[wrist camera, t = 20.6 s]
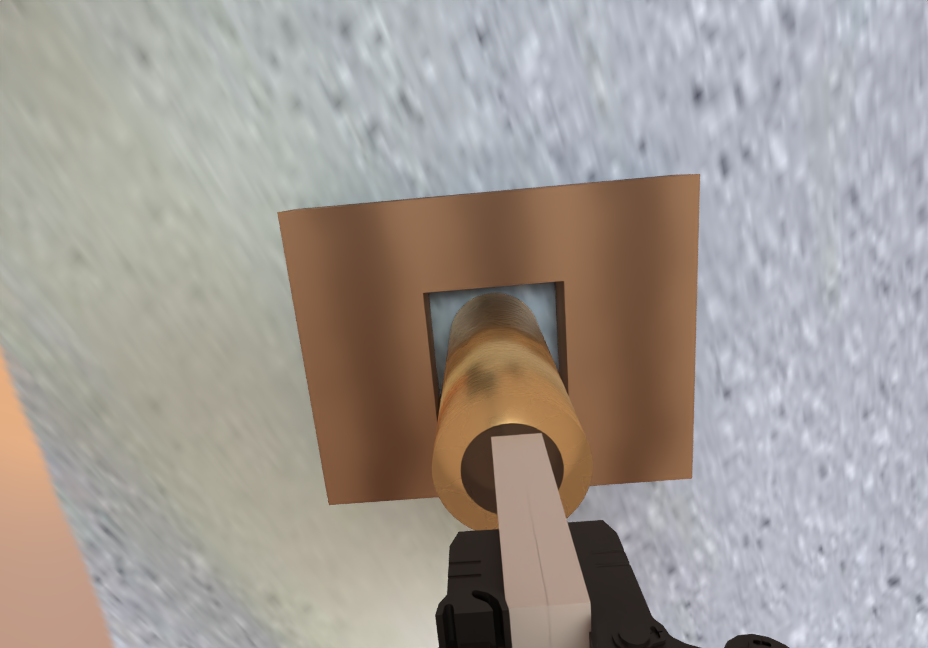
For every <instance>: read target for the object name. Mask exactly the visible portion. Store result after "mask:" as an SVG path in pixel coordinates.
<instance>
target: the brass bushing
mask: <svg viewBox="0 0 928 648" xmlns="http://www.w3.org/2000/svg"><path fill="white" fill-rule="evenodd" d="M536 433H542V437H543V440H544V443H545V447H546V450H547V454H548V457H549V461H550V464H551V468H552V471H553V475H554V478H555V482H556V485H557V488H558V492H559V495H560V499H561V502H562V506H563V509H564V513H565V516H566V518H568V517H569V516H570V515H571V514H572V513H573V512H574V511H575V510H576V509H577V507H578V506H579V505H580V503H581V502H582V500H583V499H584V497H585V495H586V493H587V491H588V488H589V485H590V482H591V477H592V464H593V463H592V454H591V450H590V447H589V444H588V441H587V439H586V436H585V434H584V432H583V429H582V427H581V425H580V422H579V420H578V418H577V415H576V413H575V410H574V408H573V406H572V403H571V401H570V399H569V396H568V394H567V392H566V389H565V387H564V384H563V382H562V380H561V377H560V375H559V373H558V370H557V368H556V366H555V363H554V361H553V359H552V356H551V354H550V351H549V349H548V347H547V344H546V342H545V340H544V337H543V335H542V333H541V330H540V328H539V325H538V323H537V321H536V318H535V316H534V314H533V313H532V311H531V310H530V309H529V308H528V306H527V305H525V304H524V303H523V302H522V301H520V300H519V299H517V298H515V297H513V296H510V295H507V294H503V293H488V294H483V295H480V296H477V297H475V298H473V299H471V300H470V301H468V302H467V303H466V304H465V305H463V307H462V308H461V309H460V310H459V311H458V313H457V314H456V316H455V318H454V320H453V323H452V326H451V332H450V339H449V346H448V353H447V360H446V367H445V374H444V381H443V388H442V395H441V402H440V409H439V416H438V423H437V430H436V437H435V444H434V452H433V459H432V477H433V482H434V486H435V489H436V491H437V494H438V496H439V498H440V500H441V501H442V503H443V504H444V506H445V507H446V509H447V510H448V511H449V512H450V513H451V514H452V515H453V516H454V517H455V518H456V519H457V520H459V521H460V522H461V523H463V524H464V525H466V526H468V527H469V528H471V529H473V530H476V531H478V530H492V529H499V526H498V514H497V502H496V490H495V478H494V466H493V454H492V442H491V437H496V436H509V435H522V434H536Z"/></svg>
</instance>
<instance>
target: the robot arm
mask: <svg viewBox="0 0 928 648" xmlns="http://www.w3.org/2000/svg"><path fill="white" fill-rule="evenodd" d="M491 442H492V454H493V466H494V478H495V490H496V502H497V514H498V526H499V529H492V530H478V531H464V532H458V534H457V536H456V537H455V539H454V540H453V542H452V544H451V545H450V550H449V569H448V589H447V595H446V596H445V598H444V599H443V600H442V601H441V602H440V603H439V605H438V608H437V611H436V614H435V617H436V625H437V633H438V641H439V648H700V647H696V646H692V645H689V644H686V643H683V642H681V641H679V640H677V639H675V638H673V637H672V636H670V635H669V633H668V632H667V631H666V629H665V628H664V626H663V625H662V624H660V623H659V622H658V621H656V620H655V619H654V618H653V617H652V615H651V613H650V611H649V608H648V606H647V603H646V601H645V599H644V596H643V594H642V592H641V589H640V587H639V584H638V582H637V580H636V577H635V575H634V573H633V570H632V568H631V565H629V561H628V558H627V556H626V554H625V552H624V549H623V546H622V544H621V542H620V539H619V537H618V535H617V533H616V532H615V531H614V530H613V529H612V528H611V527H610V526H609V525H607V524H606V523H605V522H604V521H603V520H598V521H584V522H570V523H567V520H566V516H565V513H564V509H563V506H562V502H561V499H560V495H559V492H558V488H557V485H556V482H555V478H554V475H553V471H552V468H551V464H550V461H549V457H548V454H547V450H546V447H545V443H544V440H543V437H542V433H536V434H522V435H509V436H496V437H491ZM724 648H789V647H788V646H786V645H785V644H782V643H780V642H778V641H776V640H774V639H772V638H769V637H765V636H760V635H755V634H747V635H738V636H736V637H734V638H733V639H731V640H729V641H727V643H726V645H725V647H724Z"/></svg>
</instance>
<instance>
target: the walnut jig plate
mask: <svg viewBox="0 0 928 648" xmlns="http://www.w3.org/2000/svg"><path fill="white" fill-rule="evenodd" d="M699 194H700V174H687V175H668V176H657V177H646V178H635V179H624V180H613V181H602V182H591V183H580V184H569V185H558V186H547V187H536V188H525V189H514V190H503V191H492V192H481V193H470V194H459V195H447V196H436V197H425V198H414V199H403V200H392V201H381V202H370V203H359V204H348V205H337V206H326V207H315V208H304V209H295V210H289V211H283V212H277V213H278V219H279V224H280V230H281V236H282V241H283V247H284V253H285V258H286V264H287V270H288V276H289V281H290V287H291V293H292V298H293V304H294V310H295V315H296V321H297V327H298V332H299V338H300V344H301V349H302V355H303V361H304V367H305V372H306V378H307V384H308V389H309V395H310V401H311V406H312V412H313V418H314V423H315V429H316V435H317V440H318V446H319V452H320V458H321V463H322V469H323V475H324V480H325V486H326V492H327V497H328V503H329V505H336V504H350V503H363V502H377V501H391V500H404V499H418V498H431V497H439V496H438V494H437V491H436V489H435V486H434V482H433V477H432V459H433V452H434V444H435V437H436V430H437V423H438V416H439V409H440V402H441V399H440V395H439V386H438V377H437V368H436V358H435V349H434V340H433V330H432V321H431V312H430V303H429V293H428V292H440V291H451V290H463V289H475V288H487V287H498V286H510V285H522V284H534V283H545V282H555V291H556V313H557V336H558V359H559V375H560V377H561V380H562V382H563V384H564V387H565V389H566V392H567V394H568V396H569V399H570V401H571V403H572V406H573V408H574V410H575V413H576V415H577V418H578V420H579V422H580V425H581V427H582V429H583V432H584V434H585V436H586V439H587V441H588V444H589V447H590V450H591V454H592V463H593V464H592V477H591V482H590V485H589V486H595V485H609V484H623V483H636V482H650V481H664V480H677V479H691V478H692V463H693V424H694V386H695V348H696V309H697V271H698V233H699Z"/></svg>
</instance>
